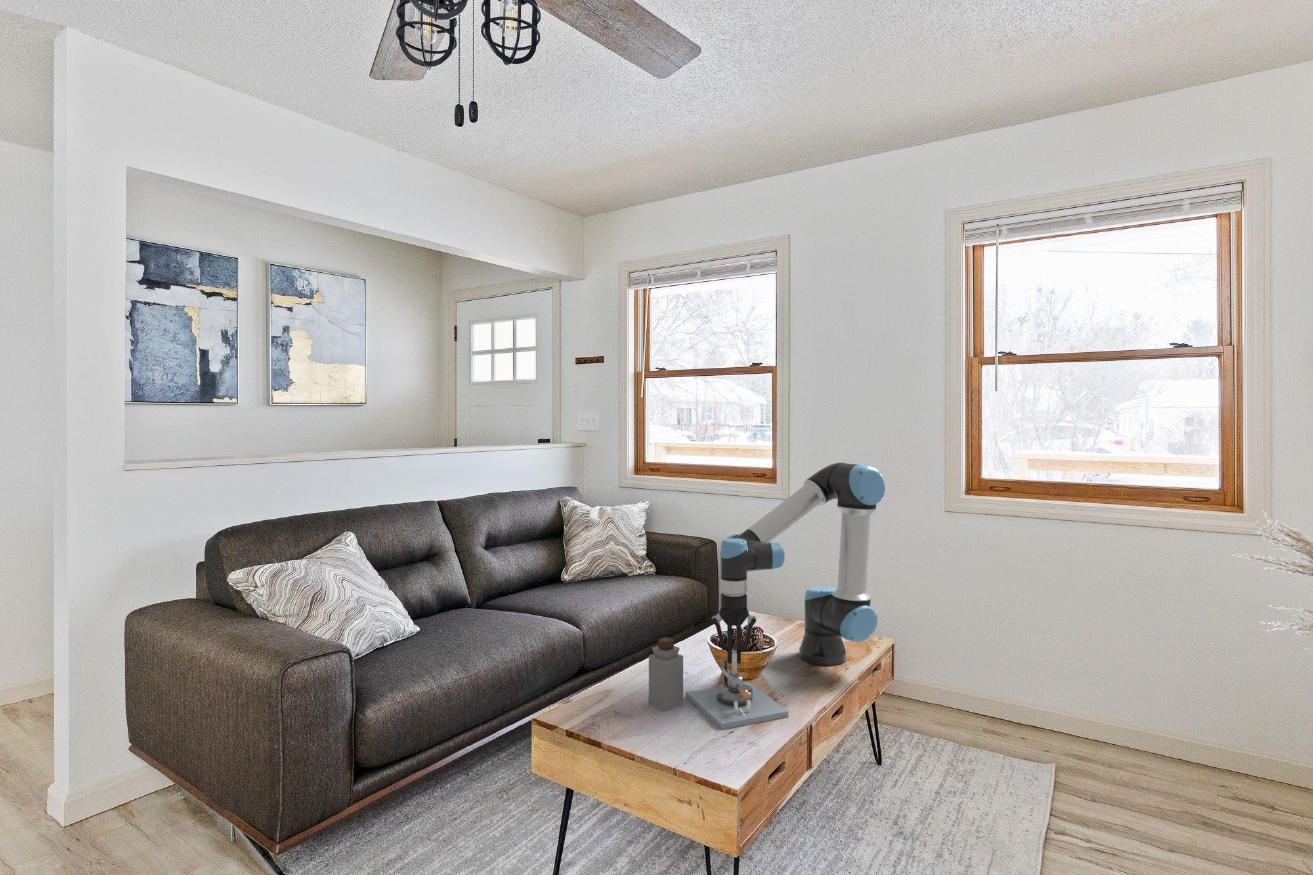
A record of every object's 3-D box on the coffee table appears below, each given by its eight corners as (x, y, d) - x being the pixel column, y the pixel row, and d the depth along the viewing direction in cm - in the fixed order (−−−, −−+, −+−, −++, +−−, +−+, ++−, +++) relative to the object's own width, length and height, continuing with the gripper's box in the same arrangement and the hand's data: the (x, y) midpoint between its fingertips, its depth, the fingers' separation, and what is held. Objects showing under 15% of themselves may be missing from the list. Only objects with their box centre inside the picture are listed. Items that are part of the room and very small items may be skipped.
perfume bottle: (665, 696, 200) (665, 634, 199) (683, 703, 195) (683, 639, 195) (648, 703, 195) (648, 639, 195) (666, 711, 191) (666, 645, 190)
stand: (747, 686, 207) (747, 671, 207) (788, 716, 187) (788, 699, 187) (685, 696, 200) (685, 681, 200) (721, 729, 179) (721, 712, 179)
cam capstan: (763, 710, 186) (764, 683, 186) (727, 713, 184) (727, 686, 184) (739, 681, 206) (739, 656, 206) (706, 683, 204) (706, 658, 204)
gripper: (755, 589, 206) (755, 669, 206) (711, 589, 206) (711, 669, 207) (757, 596, 198) (758, 679, 199) (711, 596, 199) (712, 678, 199)
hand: (734, 674), depth 203 cm, fingers closed
